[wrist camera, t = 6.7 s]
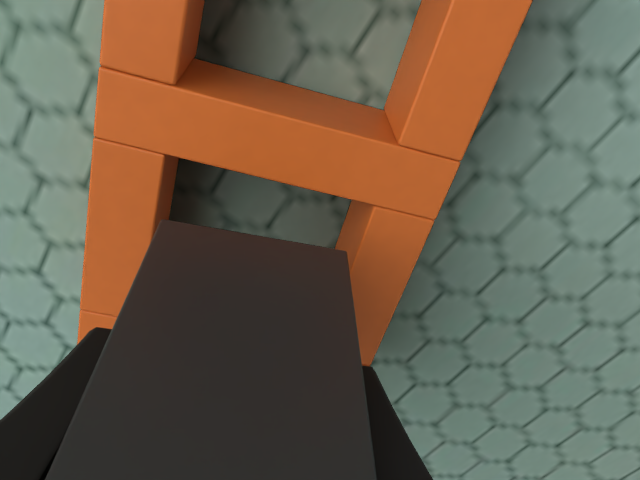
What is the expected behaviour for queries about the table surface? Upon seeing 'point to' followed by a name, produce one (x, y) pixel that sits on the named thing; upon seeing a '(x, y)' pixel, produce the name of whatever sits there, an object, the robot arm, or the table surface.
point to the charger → (226, 368)
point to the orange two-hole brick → (284, 142)
